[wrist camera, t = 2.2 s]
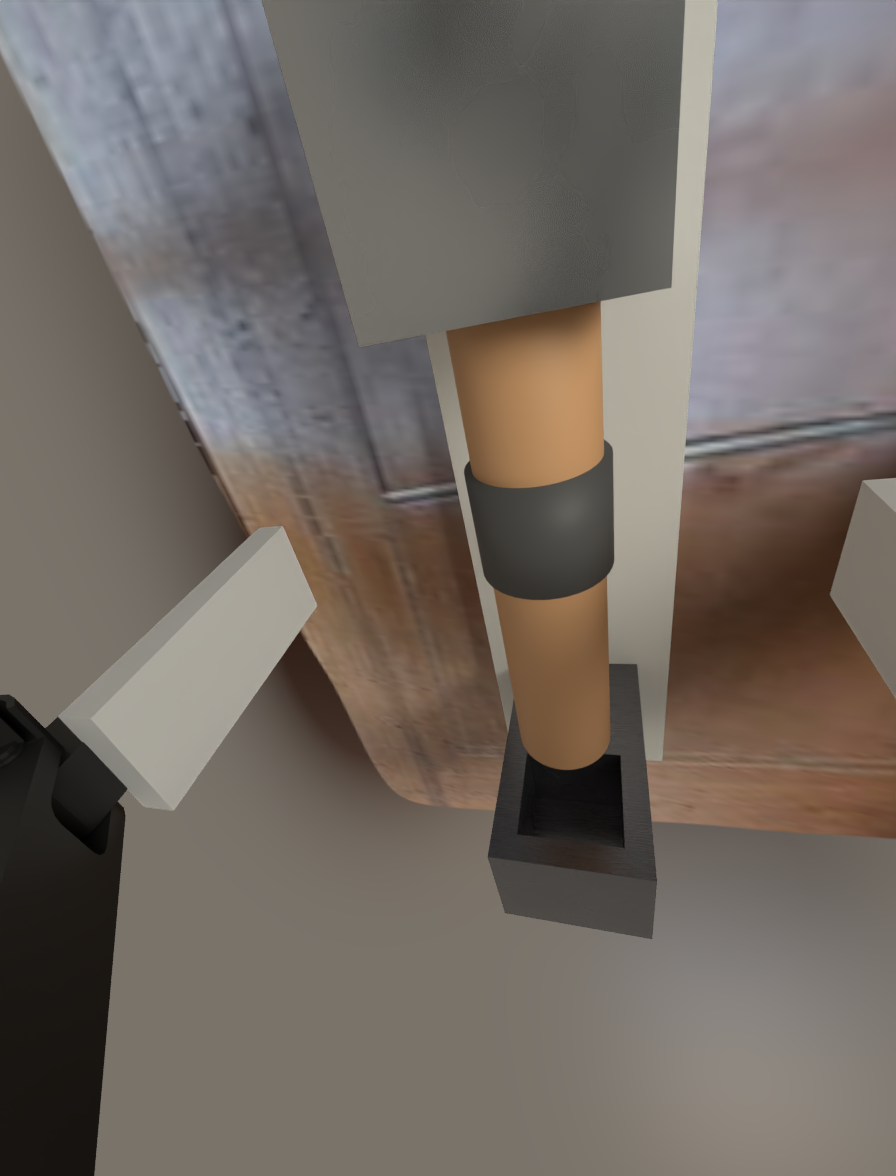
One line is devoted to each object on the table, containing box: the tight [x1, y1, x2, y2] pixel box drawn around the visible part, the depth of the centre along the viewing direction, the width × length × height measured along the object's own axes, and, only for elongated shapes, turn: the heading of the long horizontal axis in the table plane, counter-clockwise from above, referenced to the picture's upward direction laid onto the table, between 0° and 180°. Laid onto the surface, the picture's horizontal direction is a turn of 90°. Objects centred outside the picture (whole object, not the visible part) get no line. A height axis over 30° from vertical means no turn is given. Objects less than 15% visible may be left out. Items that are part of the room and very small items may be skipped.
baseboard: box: [425, 0, 718, 761], centre depth 21 cm, size 37×9×2 cm, turn 12°
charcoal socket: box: [488, 664, 657, 939], centre depth 23 cm, size 5×6×10 cm
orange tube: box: [446, 301, 614, 770], centre depth 12 cm, size 22×4×4 cm, turn 12°
